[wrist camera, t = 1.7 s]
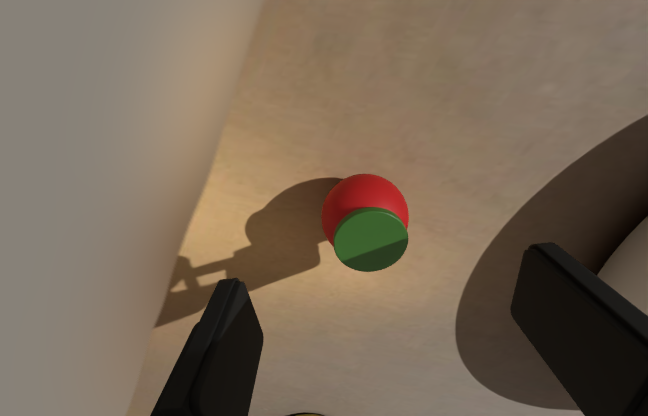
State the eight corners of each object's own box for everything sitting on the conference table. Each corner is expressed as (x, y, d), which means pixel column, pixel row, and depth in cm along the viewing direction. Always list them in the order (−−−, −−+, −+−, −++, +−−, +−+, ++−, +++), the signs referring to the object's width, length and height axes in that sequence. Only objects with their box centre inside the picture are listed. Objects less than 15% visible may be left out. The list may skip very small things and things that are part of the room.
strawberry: (316, 165, 14) (314, 206, 10) (394, 154, 14) (422, 193, 10) (326, 230, 16) (328, 285, 12) (396, 221, 16) (420, 275, 12)
